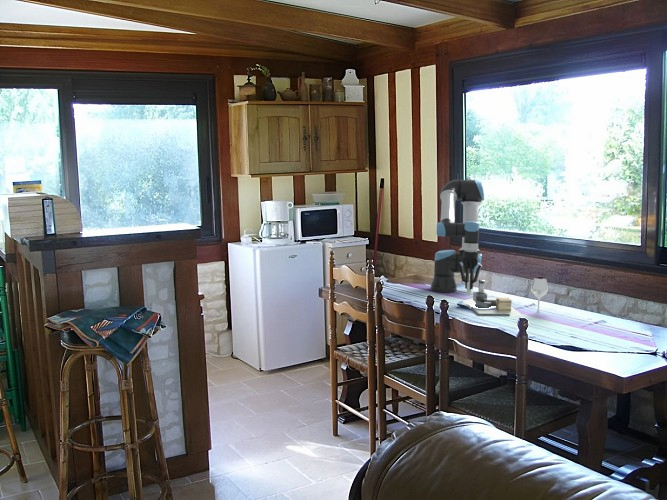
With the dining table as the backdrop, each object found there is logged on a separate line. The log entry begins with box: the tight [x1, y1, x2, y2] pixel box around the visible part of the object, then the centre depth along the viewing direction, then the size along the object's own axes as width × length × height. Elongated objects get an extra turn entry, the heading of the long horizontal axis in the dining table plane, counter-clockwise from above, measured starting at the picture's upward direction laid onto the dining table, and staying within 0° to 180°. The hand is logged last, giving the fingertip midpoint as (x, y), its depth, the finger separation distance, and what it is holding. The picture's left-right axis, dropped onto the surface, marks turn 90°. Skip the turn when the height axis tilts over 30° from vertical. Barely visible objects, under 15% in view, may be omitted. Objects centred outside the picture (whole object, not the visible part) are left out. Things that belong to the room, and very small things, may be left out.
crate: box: [495, 297, 512, 312], centre depth 353 cm, size 6×6×6 cm
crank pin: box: [477, 279, 486, 294], centre depth 364 cm, size 3×3×10 cm
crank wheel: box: [472, 291, 496, 308], centre depth 361 cm, size 14×18×6 cm
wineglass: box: [530, 276, 549, 314], centre depth 350 cm, size 8×8×18 cm
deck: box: [468, 305, 525, 318], centre depth 354 cm, size 29×23×1 cm
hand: (468, 295), depth 368 cm, fingers closed
